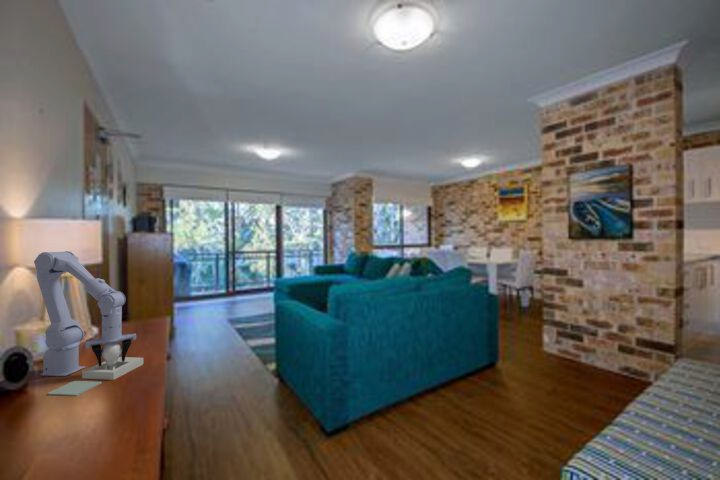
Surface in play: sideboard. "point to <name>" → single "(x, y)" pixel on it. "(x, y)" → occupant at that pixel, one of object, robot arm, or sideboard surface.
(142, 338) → the sideboard surface
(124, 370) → the bulb holder
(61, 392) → the mat
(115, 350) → the lightbulb
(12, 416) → the sideboard surface
